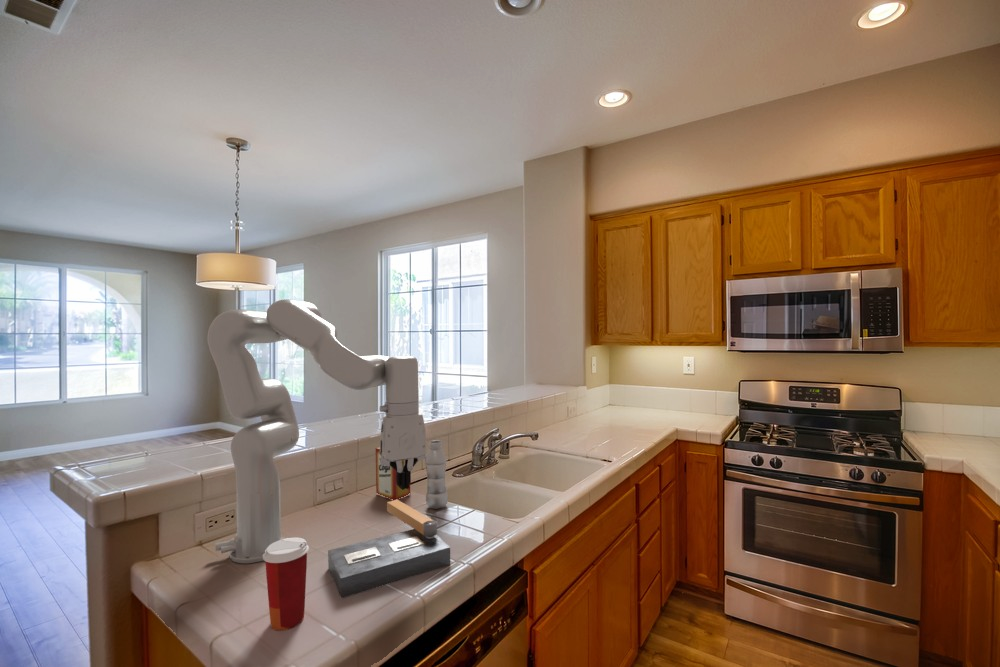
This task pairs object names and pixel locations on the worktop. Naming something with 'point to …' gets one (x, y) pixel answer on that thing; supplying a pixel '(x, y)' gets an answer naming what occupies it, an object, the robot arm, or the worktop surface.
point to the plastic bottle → (436, 476)
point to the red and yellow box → (388, 480)
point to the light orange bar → (412, 518)
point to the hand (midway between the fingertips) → (403, 487)
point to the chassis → (385, 560)
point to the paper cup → (286, 581)
